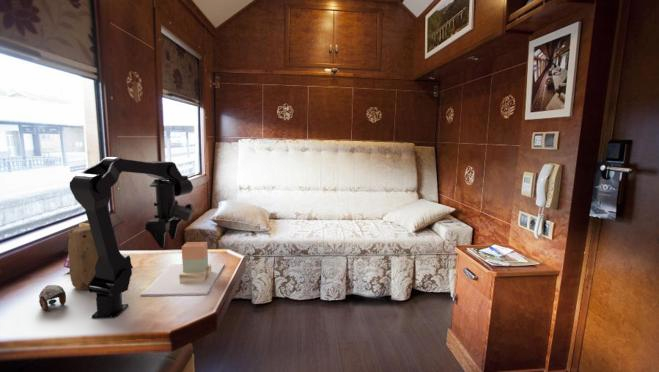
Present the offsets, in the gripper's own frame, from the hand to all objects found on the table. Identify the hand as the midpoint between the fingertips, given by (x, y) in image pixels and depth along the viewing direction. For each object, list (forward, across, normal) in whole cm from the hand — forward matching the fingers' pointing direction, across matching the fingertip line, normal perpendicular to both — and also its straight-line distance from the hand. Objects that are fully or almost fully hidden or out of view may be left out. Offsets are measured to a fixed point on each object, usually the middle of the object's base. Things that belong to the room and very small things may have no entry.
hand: (167, 243), depth 110 cm
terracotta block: (+5, 0, -9) cm, 10 cm away
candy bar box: (+12, +6, +33) cm, 36 cm away
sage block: (+9, 0, -9) cm, 13 cm away
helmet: (+13, -18, +25) cm, 34 cm away
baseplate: (+13, 0, -6) cm, 14 cm away
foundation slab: (+12, 0, -9) cm, 15 cm away
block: (+13, -3, +23) cm, 27 cm away
